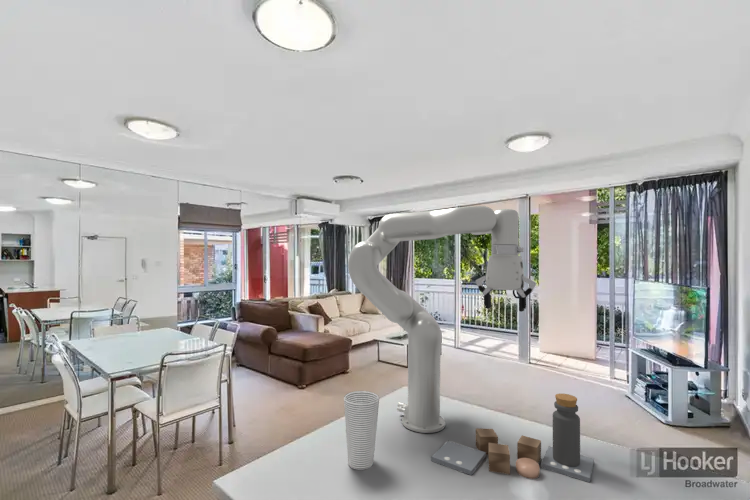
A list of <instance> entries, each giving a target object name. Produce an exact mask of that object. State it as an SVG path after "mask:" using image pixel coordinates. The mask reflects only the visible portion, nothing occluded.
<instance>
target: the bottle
mask: <svg viewBox="0 0 750 500" xmlns="http://www.w3.org/2000/svg"><path fill="white" fill-rule="evenodd" d="M554 396H555V397H554V398H555V401H554V408H555V409H556V410H554V411H553V413H552V447H553V459H554V460H555V461H556V462H558V463H560V464H562V465H565V466H571V467H575V466H578V465H579V464H580V455H581V419H580V416H579V415H578V414H577V412H578V411H579V406H578V404H577V401H578V397H576V396H574V395H572V394H570V393H569V394H568V393H556V394H555V395H554Z"/></svg>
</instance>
